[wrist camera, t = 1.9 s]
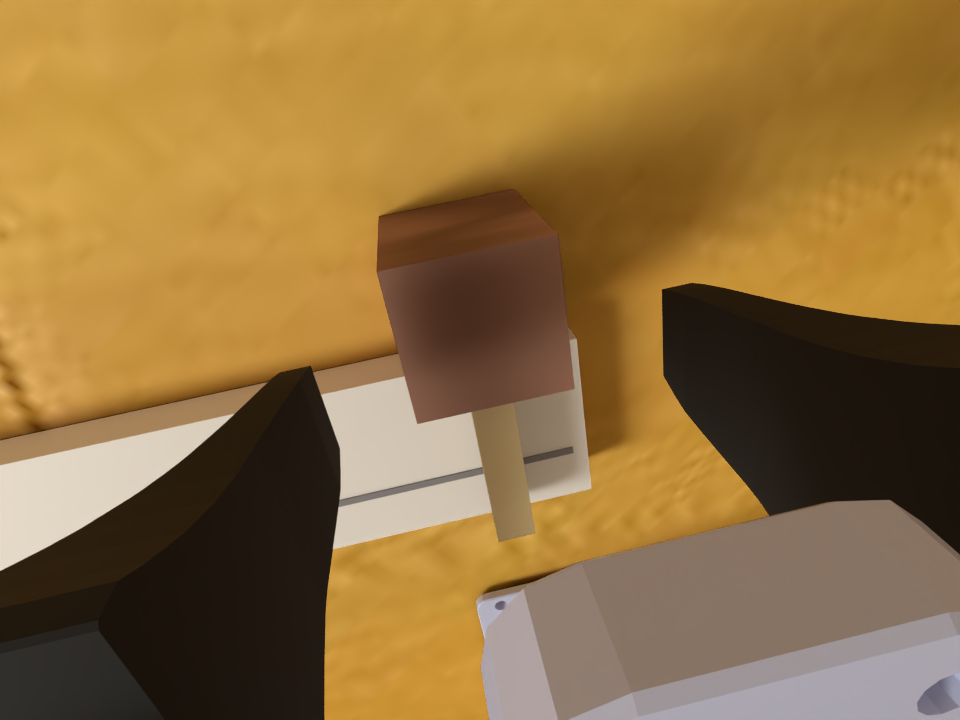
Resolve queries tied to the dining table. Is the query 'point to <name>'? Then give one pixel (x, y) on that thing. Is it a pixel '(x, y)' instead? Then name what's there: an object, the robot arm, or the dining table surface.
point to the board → (363, 458)
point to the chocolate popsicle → (479, 326)
